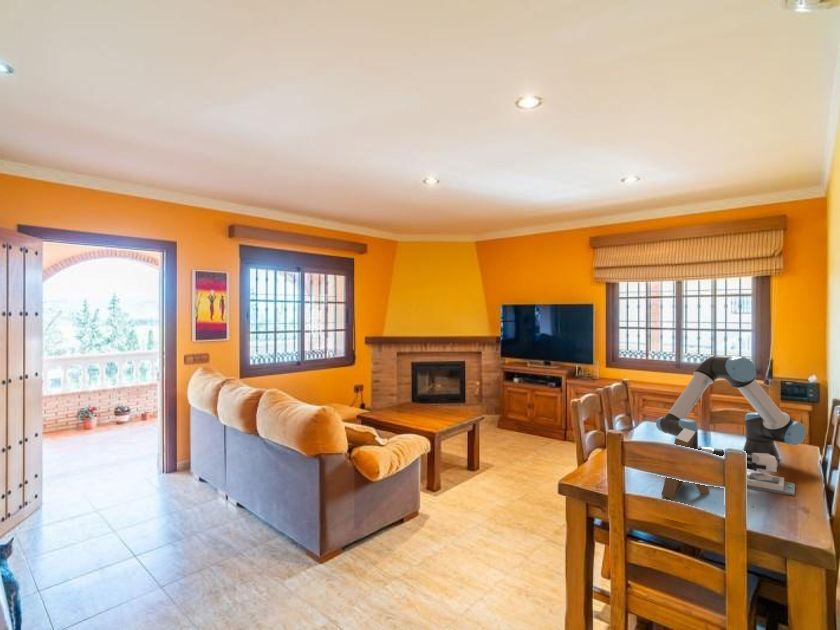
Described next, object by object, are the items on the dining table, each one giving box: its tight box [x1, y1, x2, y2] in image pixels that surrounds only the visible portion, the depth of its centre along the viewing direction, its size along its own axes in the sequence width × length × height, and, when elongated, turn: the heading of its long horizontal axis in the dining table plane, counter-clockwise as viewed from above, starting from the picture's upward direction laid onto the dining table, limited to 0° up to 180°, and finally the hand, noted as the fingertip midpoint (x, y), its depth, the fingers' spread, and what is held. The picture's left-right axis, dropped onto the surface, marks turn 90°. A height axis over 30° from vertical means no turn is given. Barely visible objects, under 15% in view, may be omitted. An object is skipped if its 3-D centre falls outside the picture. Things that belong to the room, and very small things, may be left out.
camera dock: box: [746, 471, 796, 497], centre depth 188 cm, size 15×20×3 cm
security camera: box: [751, 453, 776, 480], centre depth 188 cm, size 6×7×10 cm
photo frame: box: [661, 428, 710, 501], centre depth 182 cm, size 15×22×25 cm
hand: (776, 466), depth 185 cm, fingers closed on security camera, 8 cm apart
